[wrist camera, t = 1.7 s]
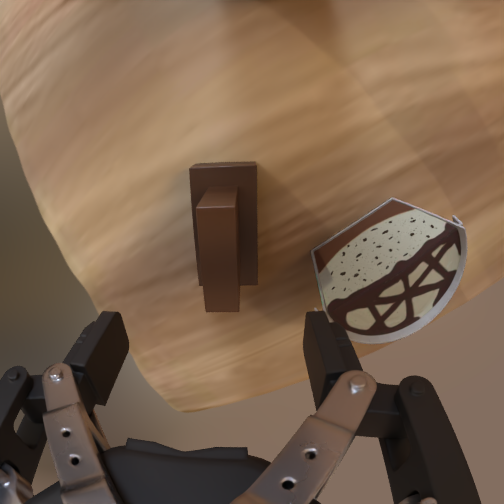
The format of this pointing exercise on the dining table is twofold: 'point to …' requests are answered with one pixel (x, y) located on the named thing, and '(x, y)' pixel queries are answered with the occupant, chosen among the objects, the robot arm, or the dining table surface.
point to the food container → (390, 271)
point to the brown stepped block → (225, 230)
